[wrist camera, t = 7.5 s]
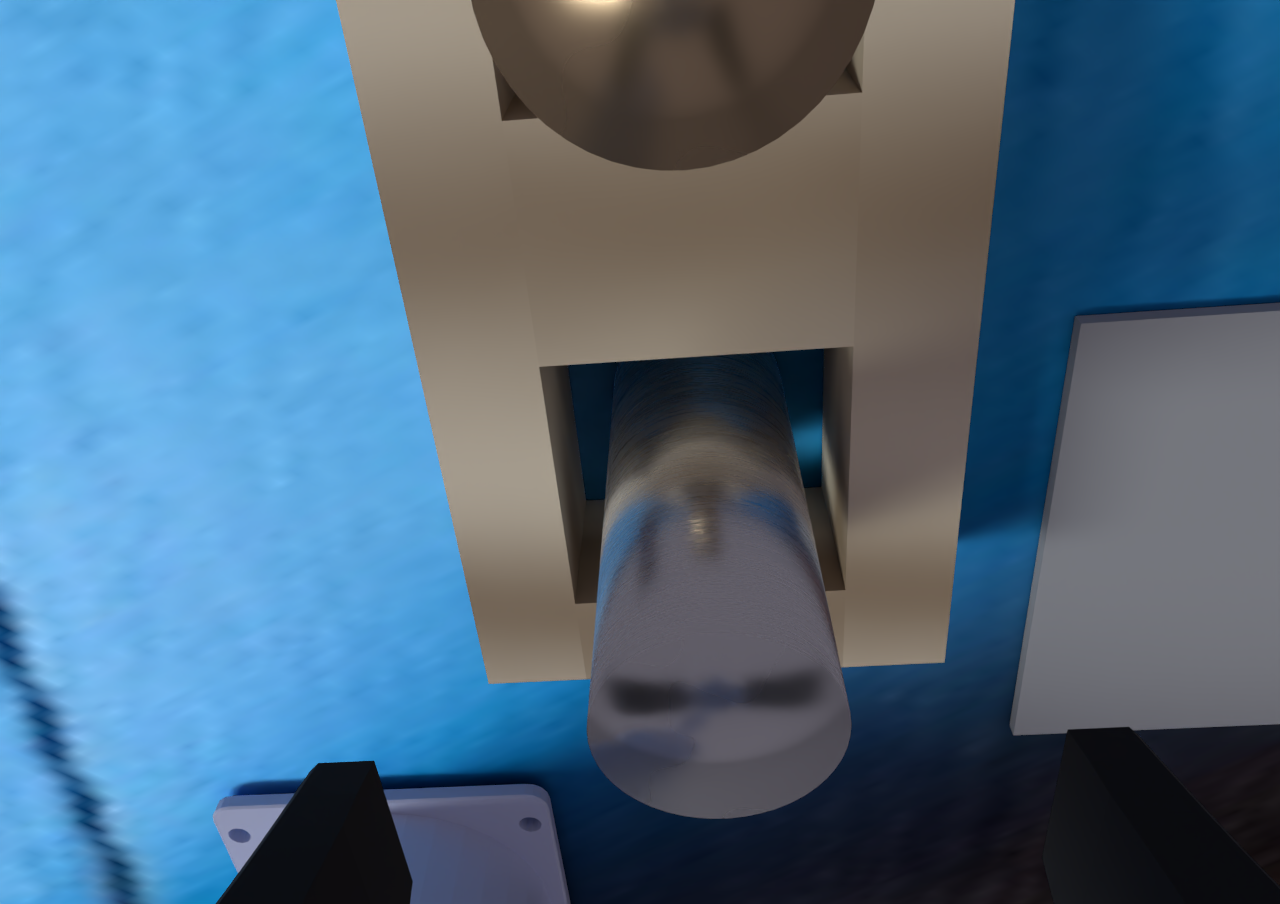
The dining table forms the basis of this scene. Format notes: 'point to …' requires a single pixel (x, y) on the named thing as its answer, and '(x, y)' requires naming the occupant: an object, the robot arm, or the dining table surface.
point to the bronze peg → (671, 71)
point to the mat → (1160, 528)
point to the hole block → (693, 305)
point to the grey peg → (711, 597)
